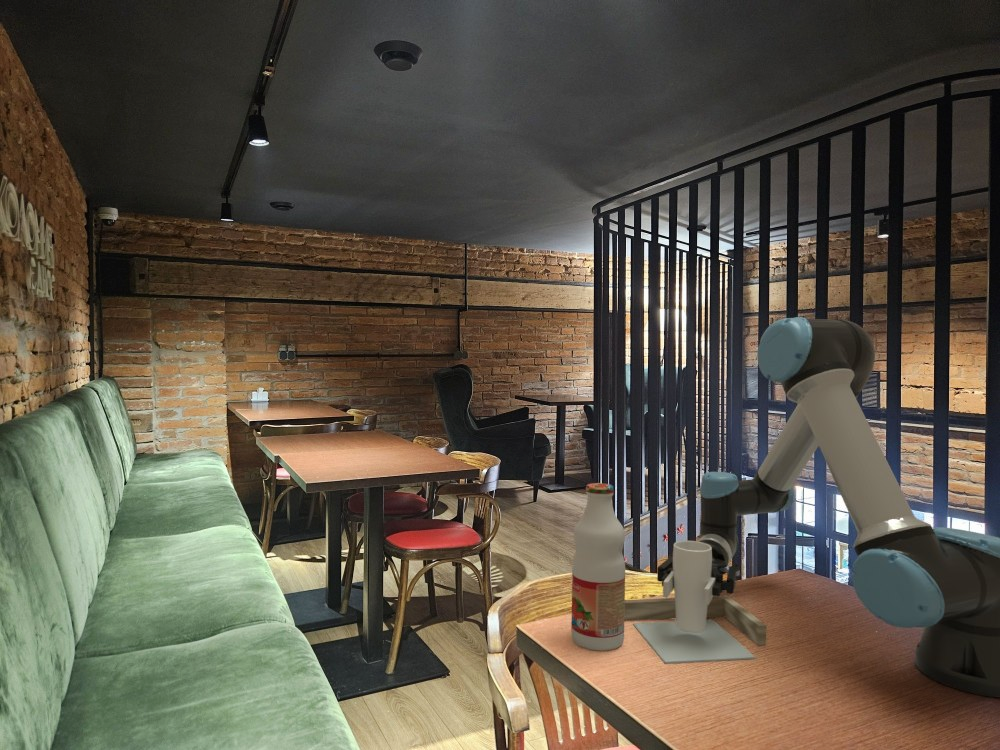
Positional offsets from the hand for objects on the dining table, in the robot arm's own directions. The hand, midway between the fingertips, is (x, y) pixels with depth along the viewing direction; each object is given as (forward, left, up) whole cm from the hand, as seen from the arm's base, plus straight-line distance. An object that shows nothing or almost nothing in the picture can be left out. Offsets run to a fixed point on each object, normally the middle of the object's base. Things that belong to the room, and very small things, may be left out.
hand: (685, 593), depth 113 cm
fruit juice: (+6, +14, -10) cm, 18 cm away
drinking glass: (+4, -3, -8) cm, 10 cm away
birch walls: (+8, -4, -10) cm, 14 cm away
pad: (+4, -3, -10) cm, 11 cm away
